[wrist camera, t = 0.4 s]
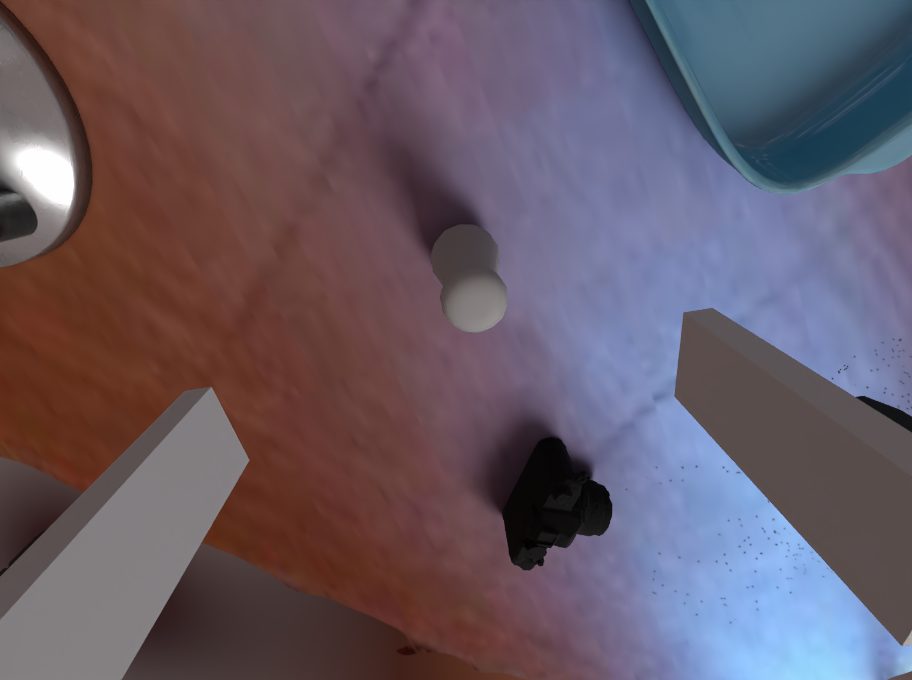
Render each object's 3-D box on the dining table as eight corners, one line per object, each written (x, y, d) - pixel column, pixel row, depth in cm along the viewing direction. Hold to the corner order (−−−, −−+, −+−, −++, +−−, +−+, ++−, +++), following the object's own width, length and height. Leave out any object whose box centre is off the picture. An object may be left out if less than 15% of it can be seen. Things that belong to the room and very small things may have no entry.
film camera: (561, 530, 54) (582, 599, 46) (493, 517, 52) (503, 586, 44) (615, 446, 48) (651, 509, 40) (540, 427, 46) (561, 489, 38)
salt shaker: (425, 224, 35) (419, 268, 24) (490, 213, 35) (517, 251, 23) (438, 287, 38) (438, 354, 26) (498, 277, 38) (526, 340, 26)
